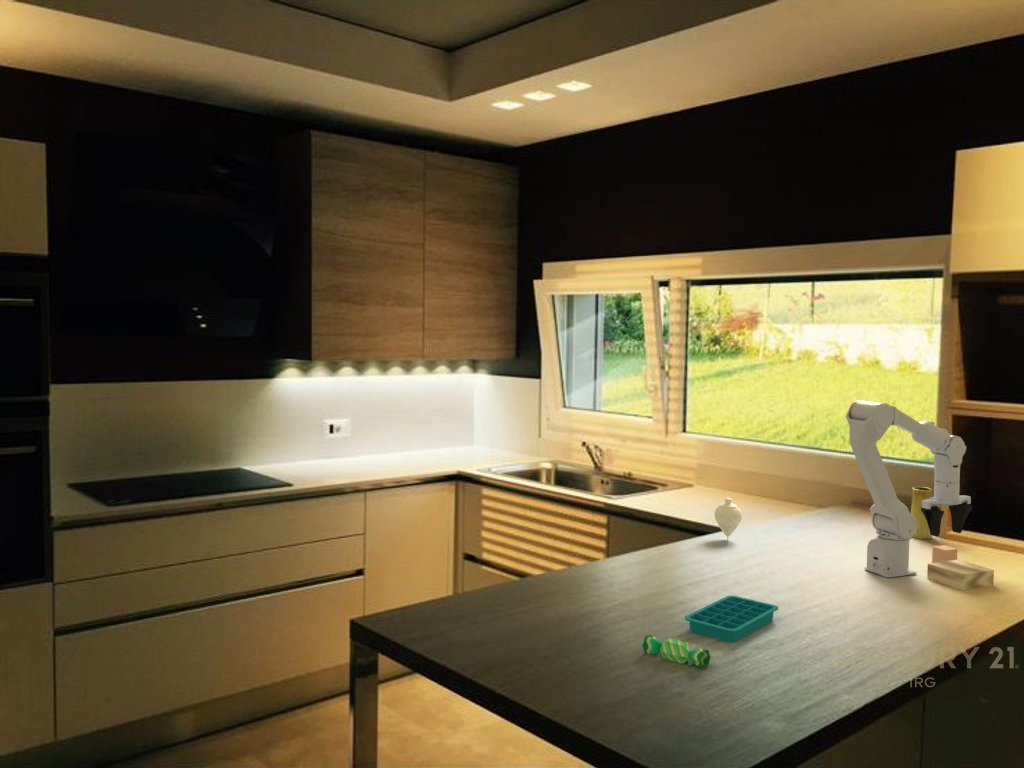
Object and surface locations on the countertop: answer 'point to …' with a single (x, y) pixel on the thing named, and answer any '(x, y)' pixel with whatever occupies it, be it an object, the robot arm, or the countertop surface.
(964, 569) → the beech block
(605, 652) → the countertop surface
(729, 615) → the ice cube tray
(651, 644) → the candy
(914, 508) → the vase
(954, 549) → the terracotta block
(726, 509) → the spinning top
